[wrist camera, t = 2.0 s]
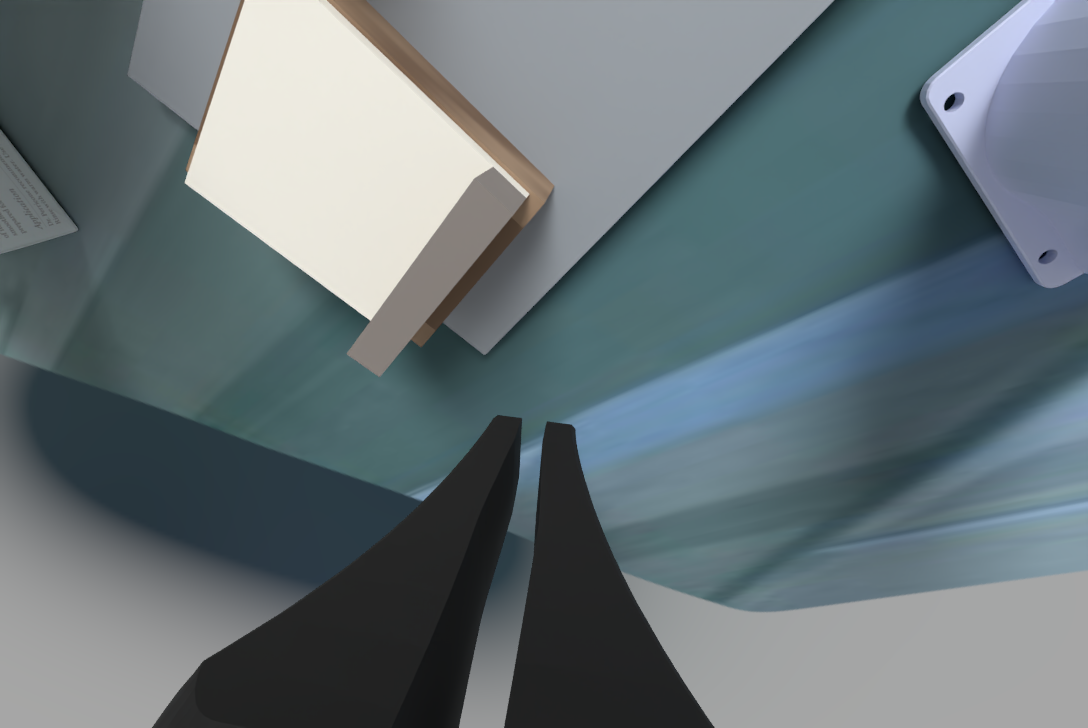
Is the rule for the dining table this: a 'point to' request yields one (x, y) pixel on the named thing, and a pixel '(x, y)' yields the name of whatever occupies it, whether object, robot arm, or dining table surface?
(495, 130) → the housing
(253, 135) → the lid
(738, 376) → the dining table surface
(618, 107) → the board
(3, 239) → the skincare box
